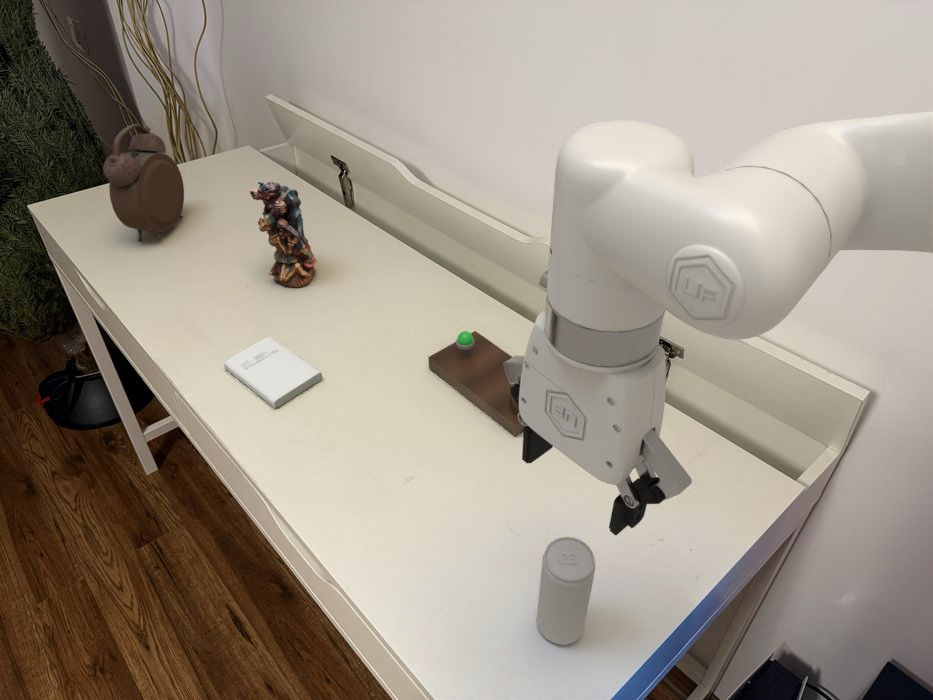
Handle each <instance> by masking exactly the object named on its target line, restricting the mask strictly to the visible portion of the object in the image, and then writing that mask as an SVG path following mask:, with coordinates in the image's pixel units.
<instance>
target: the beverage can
mask: <svg viewBox="0 0 933 700" xmlns="http://www.w3.org/2000/svg"><path fill="white" fill-rule="evenodd" d="M595 559H596V558H595V555H594V552H593V550H592V549H591V547H590V546H589V545H588V544H587V543H586V542H584V541H583V540H581V539H580V538H576V537H572V536H562V537H561V536H560V537H558V538H556V539H555V538H554V540H552V541H551V542H549V544H548V545H547V546H546V548H545V550H544V553H543V555H542V561H541V569H540V570H541V571H540V582H539V588H538V589H539V590H538V591H539V592H538V600H537V601H538V602H537V609H536V610H537V611H536V626H537V630H538V631H539V633H540V634H541V635H542V636H543V637H544V638H545V639H547V640H548V642H551V643H553V644H556V645H560V646H565V645H570V644H573V643H575V642H576V641H578V640H579V639H580V638H581V636H582V635H583V633H584V629H585V627H586V620H587V615H588V610H589V609H588V608H589V604H590V599H591V593H592V588H593V582H594V577H595V572H596V561H595Z"/></svg>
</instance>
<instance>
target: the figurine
mask: <svg viewBox="0 0 933 700" xmlns="http://www.w3.org/2000/svg"><path fill="white" fill-rule="evenodd" d="M257 184H258V185H259V186H258V189H256V188H253V189H250V190H249V193H250V196H251V197H252V200H254V201H262V204H263V205H264V206H263V211H262V217H260V218H259V219H258V221H257V225H258V227H259V231H260V232H263V233H265V232H266V233H267V235H268V240H267V242H268V244H269V246H271V247H275V251H274V253H273V260H274V262H273V263H272V266H271V267H270V268H269V270H268V271H267V274H268V275H269V276H273V279H272V280H273V282H275V283H276V284H278V285H280V286H284V287H286V288H300V287H303V286H305V285H308V284H310V282H312V280H313V278H314V276H315V274H316V268H315V264H317V259H316V257H315V254H314V253H313V251H312V248H311V245H310V243H309V240H308V239H307V238H306V235H305V231H304V220H303V219H304V218H303V216H302V215H303V214H302V209H301V208H300V207H301V204H302V201H301V199H300V197H299V192H298V190H297V189H295V188H292V189H290V187H289V186H287V185H285V184H282V183H280V182H275V181H266V182H265V180H258V181H257Z"/></svg>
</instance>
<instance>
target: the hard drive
mask: <svg viewBox="0 0 933 700" xmlns="http://www.w3.org/2000/svg"><path fill="white" fill-rule="evenodd" d="M223 366H224V369H225V370H226V371H228V372H229V373H230V374H232V375H233V376H234V377H235V378H236V379H237V380H239V381H240V382H241V383H243V384H244V385H245V386H246V387H248V388H249V389H250V390H251V391H252V392H253V393H255V394H257V395H258V396H259V397H261V399H263V400H264V401H265V402H267V404H269V405H270V406H271V407H273V408H274V409H279V408H281V407H282V406H284V405H285V404H287V403H289V402H290V401H291V400H293V399H295V398H296V397H297V396H300V395H301V394H303V393H304V392H305V391H307V390H309V389H310V388H311V387H313V386H315V385H317V384H318V383H319V382H321V381H322V380H323V373H322V372H321V371H320V370H319V369H317V368H316V367H314V366H313V365H312V364H310V363H308V362H307V361H306V360H304V359H303V358H301V357H300V356H298V354H296V353H295V352H293V351H292V350H291V349H289V348H287V347H286V346H284V345H283V344H282V343H280V342H279V341H278V340H276V339H274V338H273V337H272V336H266V337H265V338H263V339H261V340H259V341H258V342H256V343H254V344H252V345H251V346H248V347H246V348H245V349H243V350H242V351H240V352H238V353H236V354H235V355H232V356H231V357H229V358H227V359H226V360H225V361H223Z"/></svg>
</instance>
